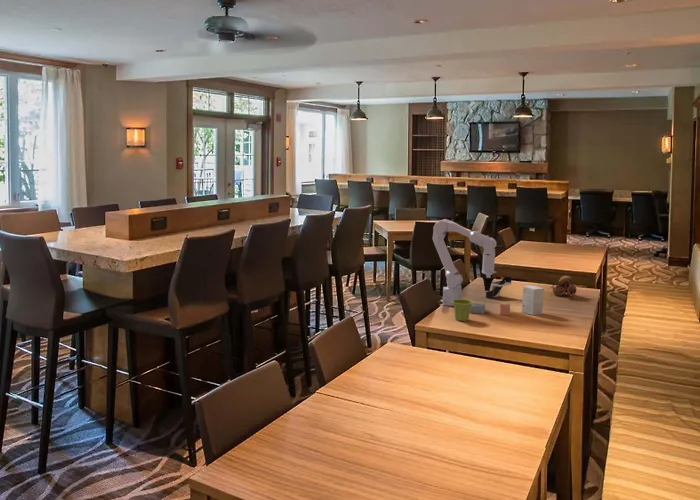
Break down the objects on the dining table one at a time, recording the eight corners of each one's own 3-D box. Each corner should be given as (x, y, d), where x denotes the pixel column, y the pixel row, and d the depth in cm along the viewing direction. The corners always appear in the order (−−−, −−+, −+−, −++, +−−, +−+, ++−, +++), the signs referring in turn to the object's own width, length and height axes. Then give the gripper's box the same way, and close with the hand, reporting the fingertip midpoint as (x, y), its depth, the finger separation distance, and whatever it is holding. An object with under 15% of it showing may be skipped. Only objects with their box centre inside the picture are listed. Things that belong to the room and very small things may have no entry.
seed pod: (546, 285, 336) (574, 279, 331) (544, 274, 350) (571, 268, 346) (551, 306, 339) (579, 300, 335) (549, 294, 354) (576, 288, 349)
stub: (500, 314, 297) (500, 304, 297) (499, 312, 302) (500, 302, 301) (509, 315, 297) (510, 305, 296) (508, 312, 302) (509, 302, 301)
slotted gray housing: (467, 312, 300) (468, 305, 299) (467, 309, 305) (467, 303, 304) (484, 313, 299) (484, 306, 298) (484, 311, 303) (484, 304, 303)
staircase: (485, 298, 333) (486, 276, 331) (496, 296, 339) (497, 274, 337) (499, 301, 326) (500, 279, 324) (510, 299, 333) (511, 276, 331)
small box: (542, 314, 300) (544, 288, 298) (532, 315, 297) (534, 289, 295) (530, 310, 307) (532, 285, 305) (520, 311, 304) (522, 285, 302)
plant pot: (459, 323, 280) (460, 304, 279) (447, 318, 288) (448, 300, 287) (475, 321, 284) (477, 302, 283) (463, 316, 293) (464, 298, 291)
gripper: (497, 265, 297) (495, 292, 299) (496, 260, 311) (494, 286, 314) (482, 264, 298) (481, 291, 301) (481, 259, 313) (480, 285, 315)
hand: (486, 289), depth 307 cm, fingers open, 7 cm apart
